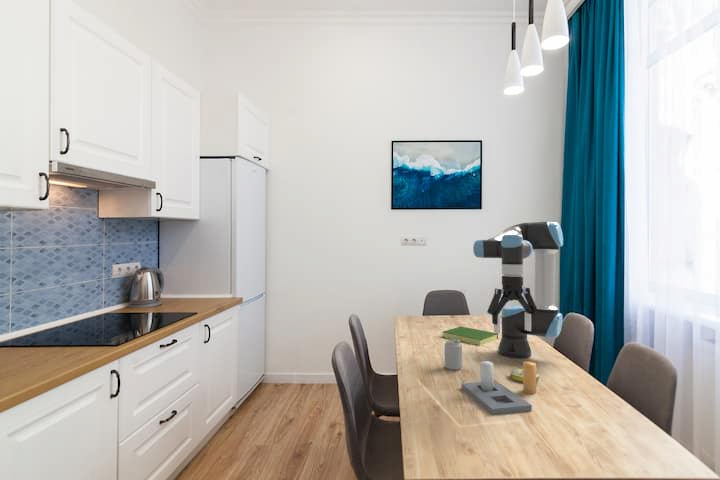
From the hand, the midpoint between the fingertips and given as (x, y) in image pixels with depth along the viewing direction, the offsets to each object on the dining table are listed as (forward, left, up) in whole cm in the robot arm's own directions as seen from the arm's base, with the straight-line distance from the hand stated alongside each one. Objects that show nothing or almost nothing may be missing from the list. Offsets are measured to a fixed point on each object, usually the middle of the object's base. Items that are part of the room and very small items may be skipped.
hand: (512, 331), depth 143 cm
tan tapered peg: (-4, +4, -22) cm, 23 cm away
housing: (+12, +7, -22) cm, 26 cm away
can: (+12, -27, -22) cm, 37 cm away
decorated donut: (-10, -8, -22) cm, 26 cm away
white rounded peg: (+12, +2, -21) cm, 24 cm away
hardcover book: (-18, -72, -23) cm, 77 cm away
